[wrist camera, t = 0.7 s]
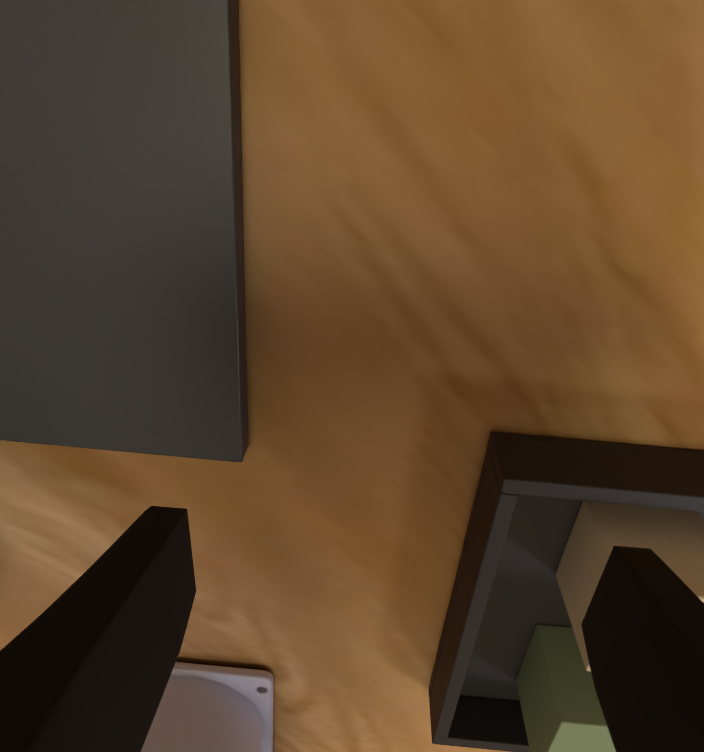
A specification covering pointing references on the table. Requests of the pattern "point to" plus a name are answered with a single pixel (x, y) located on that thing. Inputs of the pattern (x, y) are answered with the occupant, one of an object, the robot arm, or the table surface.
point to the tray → (531, 567)
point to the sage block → (560, 696)
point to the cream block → (631, 529)
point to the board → (122, 227)
